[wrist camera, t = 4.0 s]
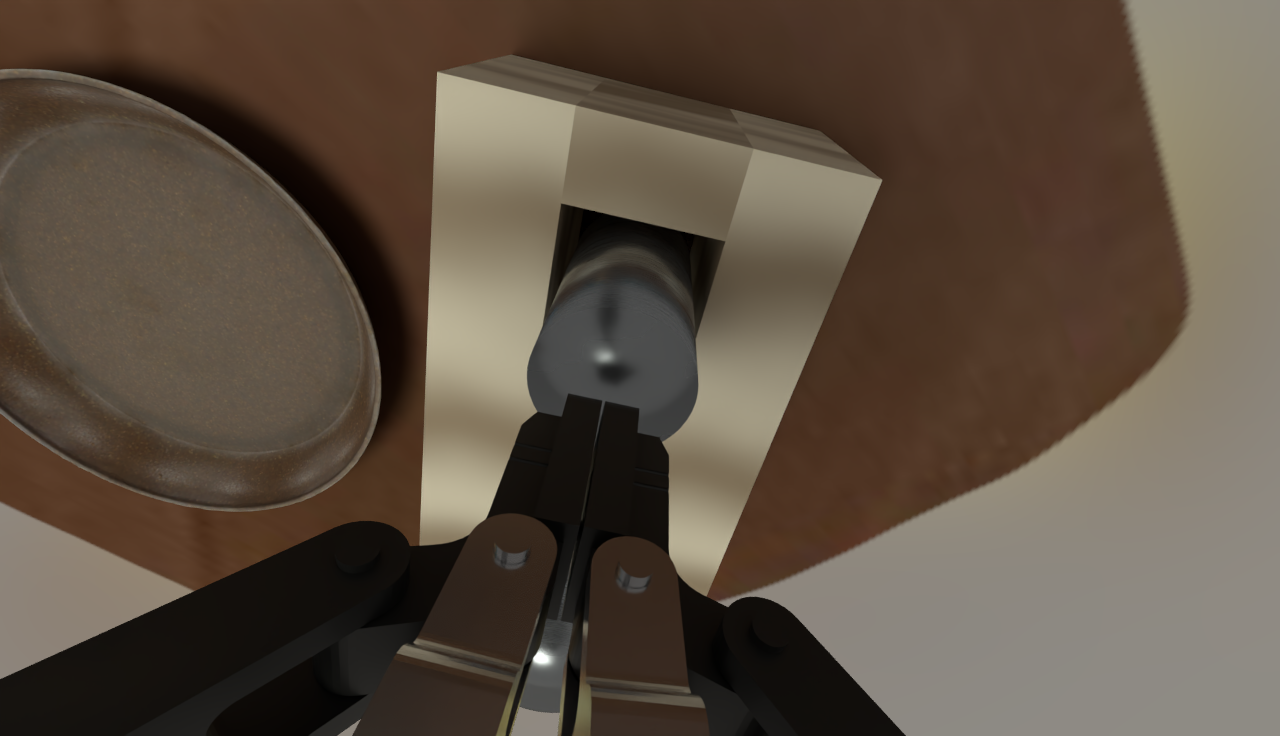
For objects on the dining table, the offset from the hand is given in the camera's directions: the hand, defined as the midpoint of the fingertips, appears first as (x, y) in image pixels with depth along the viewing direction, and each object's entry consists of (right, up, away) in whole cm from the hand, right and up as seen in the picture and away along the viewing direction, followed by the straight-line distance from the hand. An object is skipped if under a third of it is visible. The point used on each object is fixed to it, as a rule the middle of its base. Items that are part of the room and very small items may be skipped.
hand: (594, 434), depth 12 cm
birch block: (0, +3, +16) cm, 16 cm away
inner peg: (+1, +5, +8) cm, 9 cm away
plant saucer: (-20, +4, +16) cm, 27 cm away
